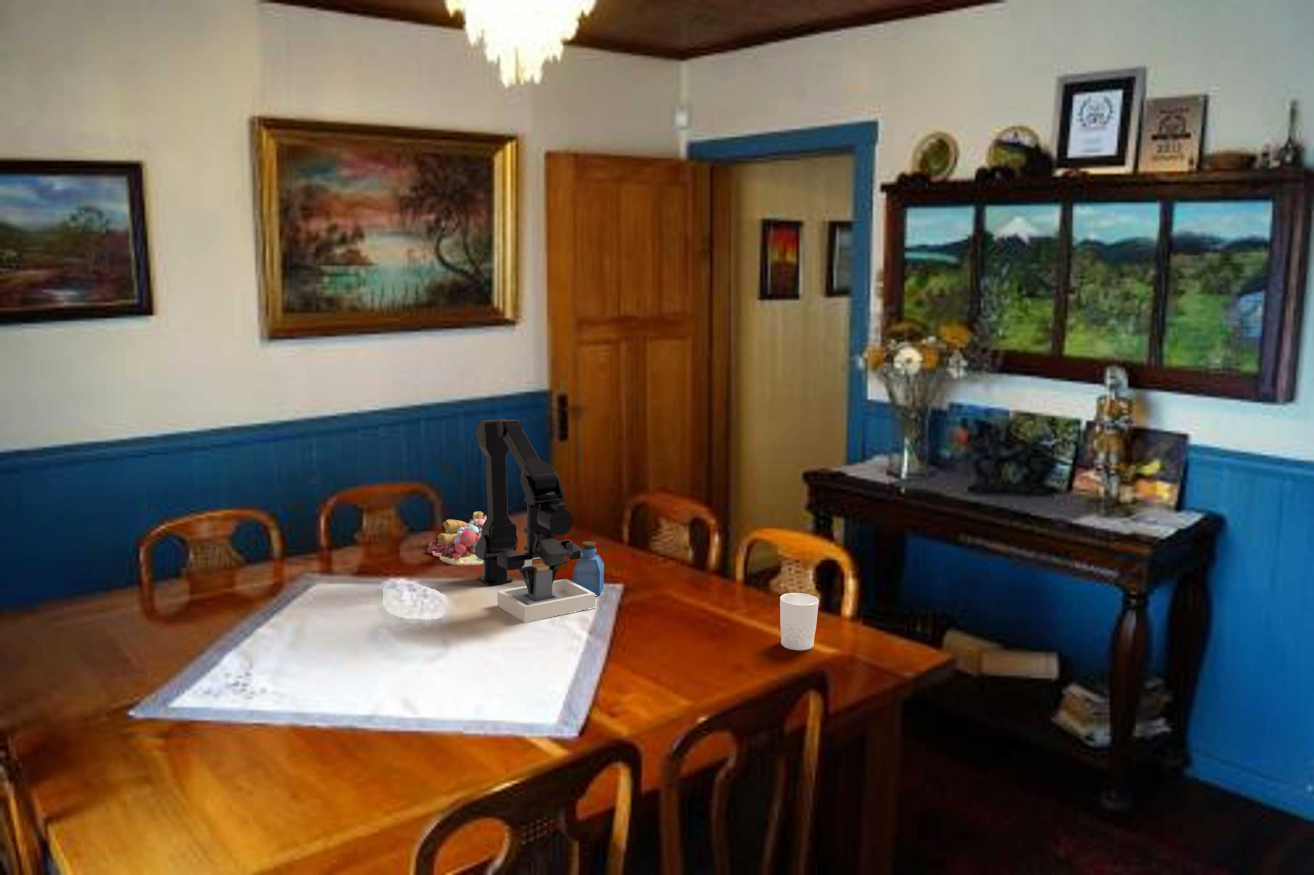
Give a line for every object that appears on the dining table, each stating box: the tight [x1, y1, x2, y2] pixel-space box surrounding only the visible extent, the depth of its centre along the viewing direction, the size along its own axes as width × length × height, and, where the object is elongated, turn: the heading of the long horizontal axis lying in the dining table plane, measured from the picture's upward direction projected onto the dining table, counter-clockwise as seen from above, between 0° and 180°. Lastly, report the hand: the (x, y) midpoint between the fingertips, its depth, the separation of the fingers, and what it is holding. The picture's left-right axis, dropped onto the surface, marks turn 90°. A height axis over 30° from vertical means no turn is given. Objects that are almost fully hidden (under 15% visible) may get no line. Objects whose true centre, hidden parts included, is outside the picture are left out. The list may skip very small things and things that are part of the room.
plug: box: [528, 562, 552, 602], centre depth 236 cm, size 4×4×8 cm
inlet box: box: [496, 578, 596, 624], centre depth 238 cm, size 13×18×4 cm
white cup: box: [779, 592, 820, 651], centre depth 218 cm, size 8×8×10 cm
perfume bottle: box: [573, 540, 605, 597], centre depth 249 cm, size 6×6×12 cm
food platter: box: [425, 511, 487, 567], centre depth 281 cm, size 25×24×9 cm
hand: (539, 592), depth 236 cm, fingers closed on plug, 4 cm apart
